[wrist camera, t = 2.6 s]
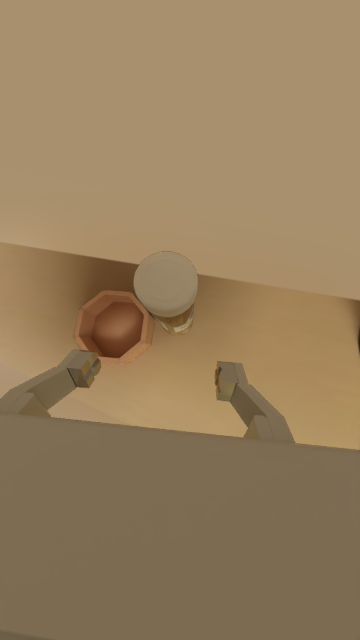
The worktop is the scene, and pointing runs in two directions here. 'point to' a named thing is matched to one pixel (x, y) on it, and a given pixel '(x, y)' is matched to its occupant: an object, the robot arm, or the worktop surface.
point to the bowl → (114, 327)
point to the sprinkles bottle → (168, 289)
